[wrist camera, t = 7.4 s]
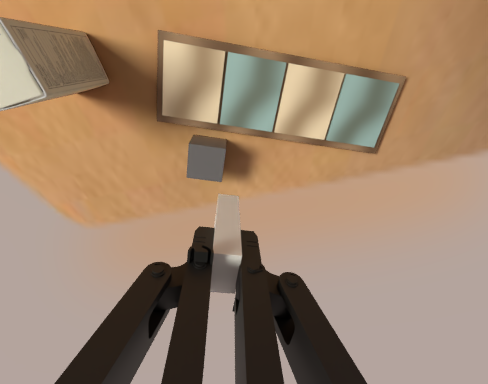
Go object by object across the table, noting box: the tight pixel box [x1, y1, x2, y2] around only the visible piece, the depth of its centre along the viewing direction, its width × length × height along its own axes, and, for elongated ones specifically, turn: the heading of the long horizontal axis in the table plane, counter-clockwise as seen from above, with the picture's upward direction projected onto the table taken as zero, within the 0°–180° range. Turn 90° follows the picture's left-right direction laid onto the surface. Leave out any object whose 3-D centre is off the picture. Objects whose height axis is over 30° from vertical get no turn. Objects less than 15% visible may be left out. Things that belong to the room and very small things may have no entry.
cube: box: [187, 135, 227, 182], centre depth 30 cm, size 4×4×4 cm
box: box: [0, 17, 109, 111], centre depth 22 cm, size 5×4×11 cm
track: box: [157, 30, 406, 154], centre depth 29 cm, size 27×9×1 cm, turn 81°
